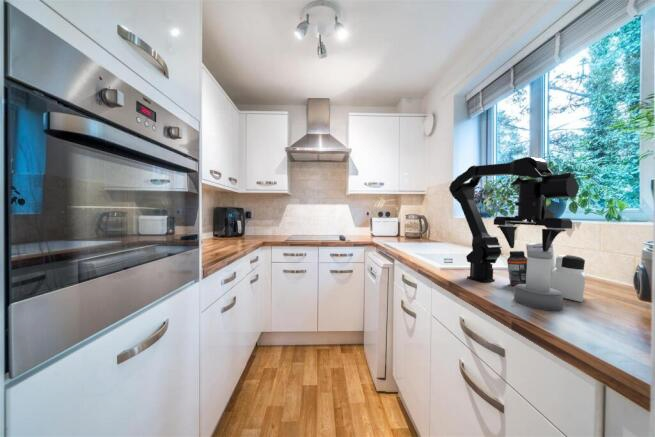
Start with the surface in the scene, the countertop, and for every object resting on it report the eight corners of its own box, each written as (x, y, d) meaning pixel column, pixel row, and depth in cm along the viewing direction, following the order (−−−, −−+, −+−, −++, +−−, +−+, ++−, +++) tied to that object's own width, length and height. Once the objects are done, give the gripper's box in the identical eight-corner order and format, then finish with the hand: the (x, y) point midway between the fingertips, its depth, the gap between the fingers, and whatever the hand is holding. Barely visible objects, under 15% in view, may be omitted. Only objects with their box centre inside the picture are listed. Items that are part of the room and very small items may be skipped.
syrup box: (559, 290, 78) (554, 243, 79) (535, 290, 80) (530, 244, 81) (551, 286, 83) (547, 242, 84) (529, 286, 85) (525, 242, 86)
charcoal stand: (505, 299, 71) (506, 285, 71) (528, 295, 75) (529, 282, 75) (547, 312, 62) (548, 296, 62) (571, 308, 65) (572, 292, 65)
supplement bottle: (519, 283, 88) (516, 250, 89) (537, 286, 82) (532, 250, 83) (505, 284, 87) (501, 251, 88) (521, 287, 81) (517, 251, 82)
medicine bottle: (582, 297, 75) (588, 257, 74) (582, 302, 70) (588, 259, 69) (550, 290, 80) (555, 252, 79) (548, 294, 75) (553, 254, 74)
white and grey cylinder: (521, 286, 70) (523, 250, 69) (533, 285, 71) (534, 249, 71) (542, 292, 65) (544, 253, 65) (554, 290, 67) (556, 252, 67)
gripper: (584, 199, 72) (582, 254, 72) (515, 201, 89) (513, 245, 90) (561, 197, 68) (558, 255, 68) (493, 199, 85) (491, 246, 85)
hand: (527, 250), depth 78 cm, fingers open, 9 cm apart
